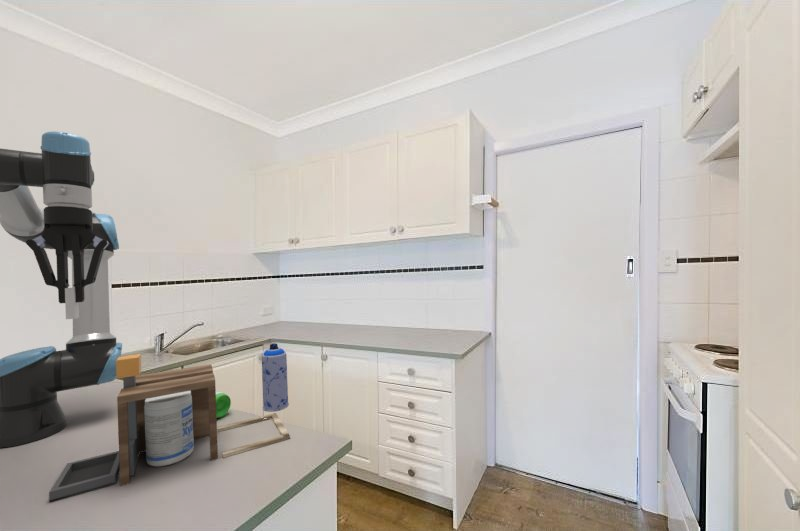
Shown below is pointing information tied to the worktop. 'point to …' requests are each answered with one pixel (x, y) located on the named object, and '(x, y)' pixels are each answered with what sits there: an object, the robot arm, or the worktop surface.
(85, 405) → the worktop surface
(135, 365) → the slider
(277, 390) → the aerosol can
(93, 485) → the tray
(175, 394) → the supplement tub
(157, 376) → the walnut tunnel
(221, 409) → the speaker
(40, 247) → the robot arm
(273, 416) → the frame
